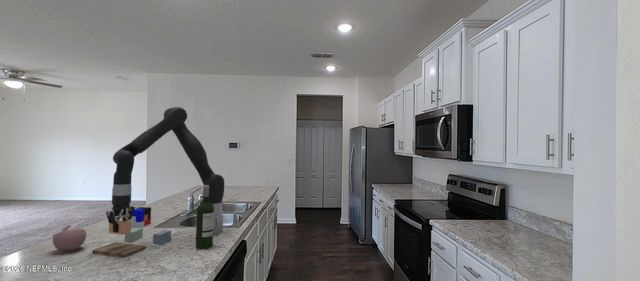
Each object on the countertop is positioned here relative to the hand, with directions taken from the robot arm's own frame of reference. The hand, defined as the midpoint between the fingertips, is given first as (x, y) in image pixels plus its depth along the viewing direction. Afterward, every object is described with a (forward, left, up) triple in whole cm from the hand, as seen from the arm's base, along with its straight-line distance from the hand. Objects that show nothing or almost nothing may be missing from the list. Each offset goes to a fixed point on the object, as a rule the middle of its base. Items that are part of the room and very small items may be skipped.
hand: (120, 230), depth 144 cm
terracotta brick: (0, 0, -1) cm, 1 cm away
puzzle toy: (+26, -39, -10) cm, 48 cm away
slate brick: (-9, -17, -10) cm, 21 cm away
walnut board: (0, 0, -9) cm, 9 cm away
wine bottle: (-33, -17, -10) cm, 38 cm away
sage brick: (+7, -16, -10) cm, 20 cm away
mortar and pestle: (+21, +6, -10) cm, 24 cm away
